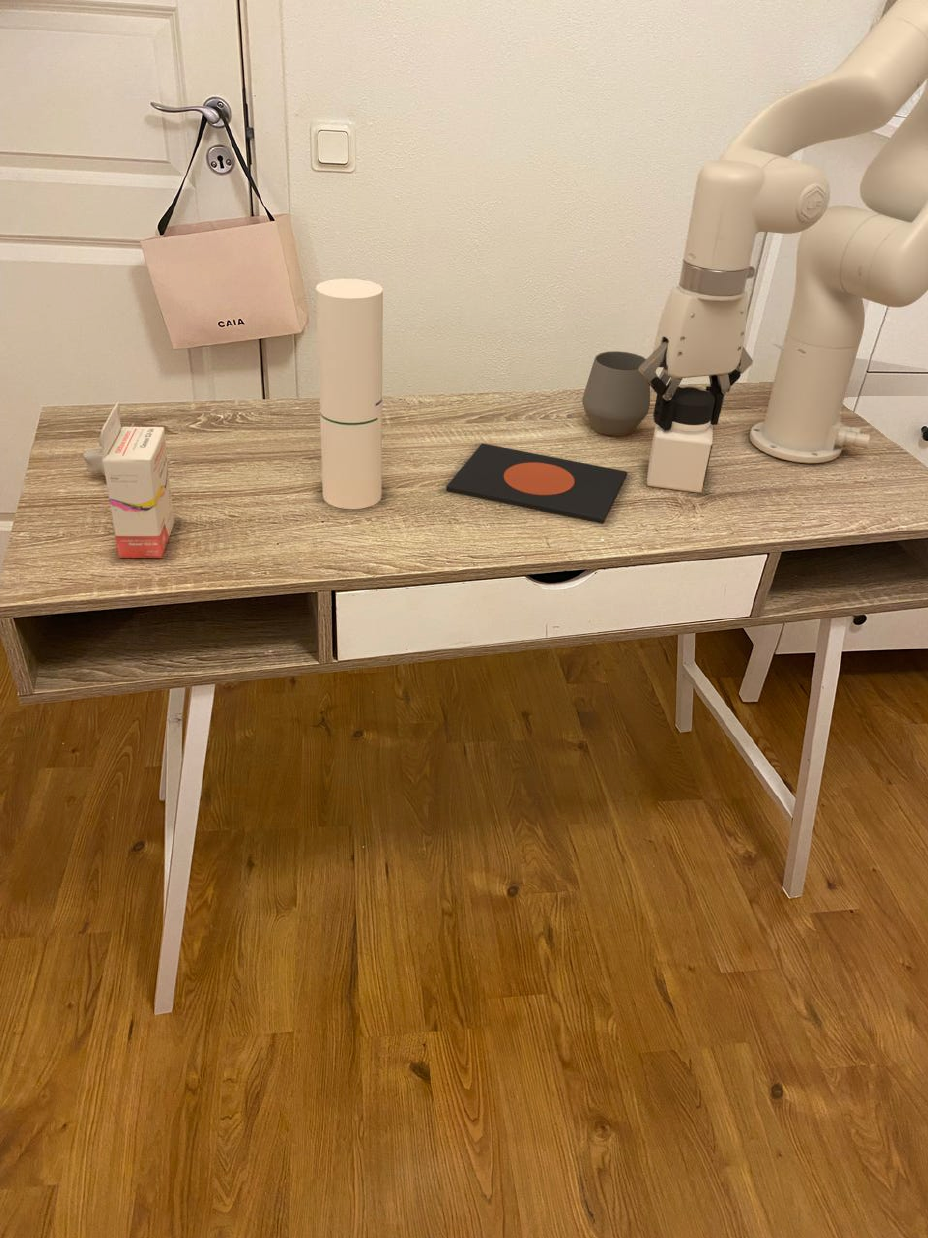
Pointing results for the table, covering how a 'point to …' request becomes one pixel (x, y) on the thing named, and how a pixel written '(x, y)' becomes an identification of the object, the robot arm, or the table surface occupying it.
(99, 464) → the rubber duck
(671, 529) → the table surface
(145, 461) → the ink cartridge box
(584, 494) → the mat
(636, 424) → the cup
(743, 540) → the table surface
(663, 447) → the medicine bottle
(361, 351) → the cylindrical container
